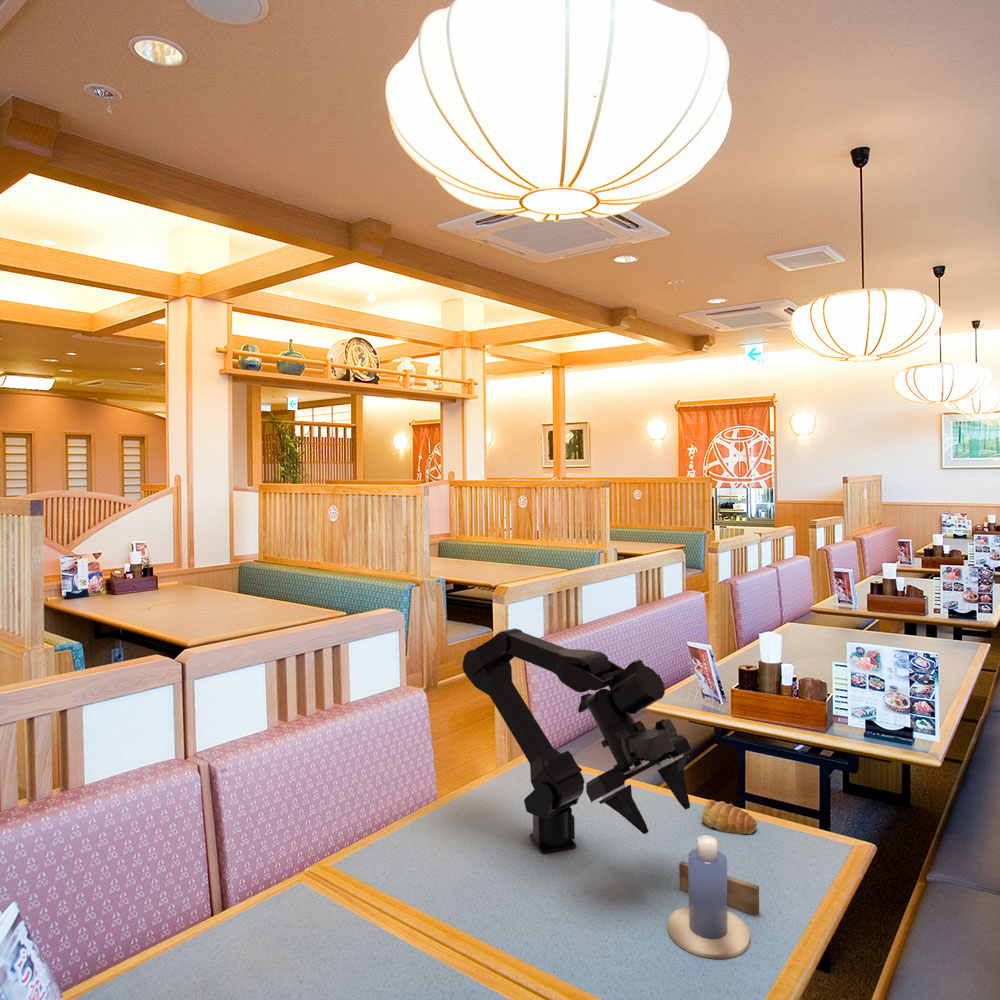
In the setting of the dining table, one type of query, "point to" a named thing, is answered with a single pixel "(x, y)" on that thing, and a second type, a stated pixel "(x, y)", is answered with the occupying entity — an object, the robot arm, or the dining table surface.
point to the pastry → (727, 818)
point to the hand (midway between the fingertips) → (667, 820)
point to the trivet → (709, 948)
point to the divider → (730, 891)
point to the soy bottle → (707, 889)
